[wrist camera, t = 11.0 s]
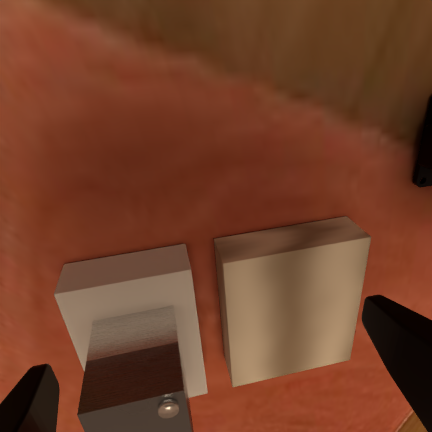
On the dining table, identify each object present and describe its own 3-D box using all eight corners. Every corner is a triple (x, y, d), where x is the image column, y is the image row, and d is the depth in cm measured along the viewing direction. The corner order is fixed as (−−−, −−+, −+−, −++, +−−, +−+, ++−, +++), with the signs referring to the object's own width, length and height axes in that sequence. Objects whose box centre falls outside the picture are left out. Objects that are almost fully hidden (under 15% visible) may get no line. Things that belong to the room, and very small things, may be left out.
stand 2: (346, 216, 25) (371, 236, 22) (331, 332, 31) (349, 359, 28) (213, 238, 23) (223, 263, 21) (224, 356, 29) (232, 387, 27)
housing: (173, 305, 22) (184, 396, 16) (185, 376, 25) (199, 471, 19) (92, 321, 21) (76, 421, 15) (116, 392, 24) (110, 495, 19)
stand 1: (185, 243, 23) (191, 269, 21) (201, 361, 29) (207, 393, 26) (63, 264, 22) (53, 294, 19) (105, 382, 28) (102, 417, 25)
